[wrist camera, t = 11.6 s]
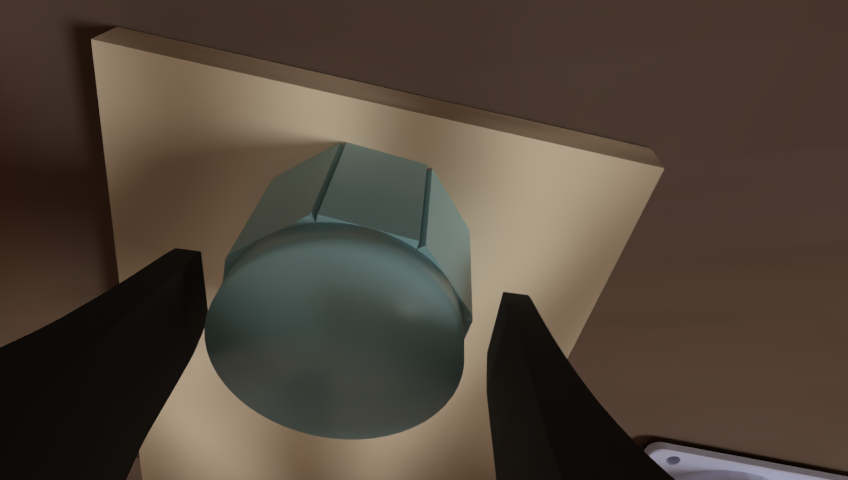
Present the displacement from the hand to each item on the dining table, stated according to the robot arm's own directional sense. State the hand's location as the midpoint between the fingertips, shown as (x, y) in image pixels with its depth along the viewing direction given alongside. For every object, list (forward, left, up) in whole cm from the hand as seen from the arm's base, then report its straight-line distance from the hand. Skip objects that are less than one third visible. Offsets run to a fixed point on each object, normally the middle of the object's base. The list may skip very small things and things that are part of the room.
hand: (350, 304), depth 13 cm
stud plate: (0, +5, -4) cm, 6 cm away
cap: (0, 0, -3) cm, 3 cm away
